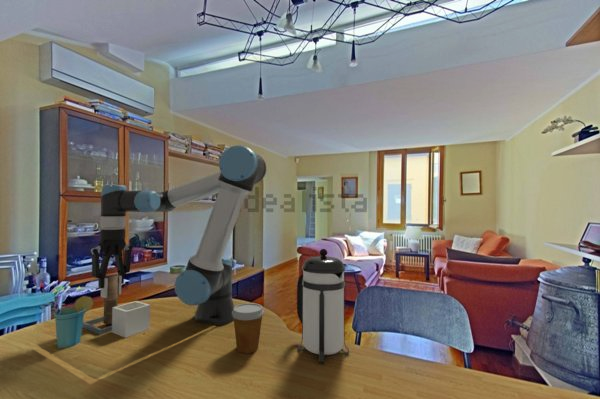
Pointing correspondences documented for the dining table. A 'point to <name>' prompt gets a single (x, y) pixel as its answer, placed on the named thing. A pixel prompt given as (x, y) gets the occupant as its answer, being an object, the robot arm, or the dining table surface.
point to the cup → (70, 321)
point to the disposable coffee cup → (247, 326)
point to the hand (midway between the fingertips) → (111, 295)
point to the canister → (130, 318)
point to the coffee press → (322, 305)
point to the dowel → (110, 298)
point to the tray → (89, 326)
